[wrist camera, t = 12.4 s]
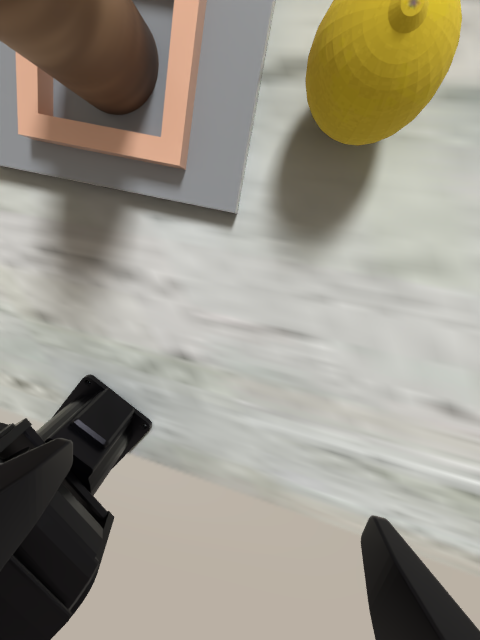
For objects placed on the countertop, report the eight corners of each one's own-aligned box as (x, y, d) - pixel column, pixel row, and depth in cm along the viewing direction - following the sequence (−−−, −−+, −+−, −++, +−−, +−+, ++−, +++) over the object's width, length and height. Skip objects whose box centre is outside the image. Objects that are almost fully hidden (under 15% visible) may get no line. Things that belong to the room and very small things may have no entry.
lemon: (293, 157, 18) (308, 104, 10) (306, 42, 16) (335, -127, 8) (390, 163, 17) (482, 111, 10) (414, 45, 16) (549, -132, 8)
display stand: (237, 213, 19) (232, 211, 17) (-1, 165, 20) (-34, 158, 18) (285, -59, 15) (287, -106, 13) (-15, -106, 16) (-60, -157, 14)
